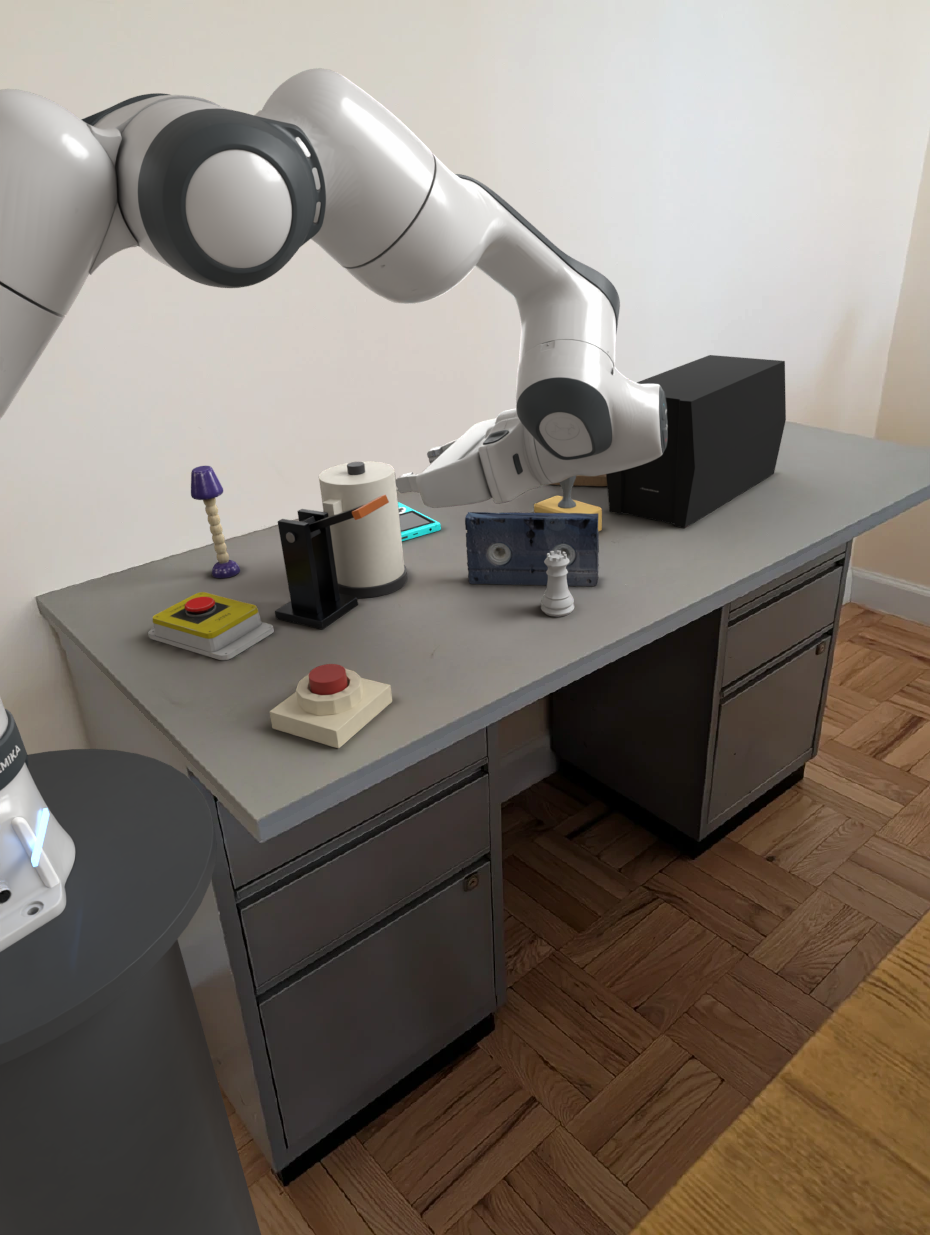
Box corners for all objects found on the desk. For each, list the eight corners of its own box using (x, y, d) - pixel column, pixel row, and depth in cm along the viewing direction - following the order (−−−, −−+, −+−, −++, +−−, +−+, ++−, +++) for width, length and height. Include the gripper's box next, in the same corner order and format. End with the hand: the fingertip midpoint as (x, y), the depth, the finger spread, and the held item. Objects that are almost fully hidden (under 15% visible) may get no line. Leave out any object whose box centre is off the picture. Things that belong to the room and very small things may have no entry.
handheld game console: (395, 505, 159) (395, 498, 159) (443, 529, 147) (442, 521, 146) (345, 518, 154) (344, 511, 154) (390, 545, 142) (389, 537, 142)
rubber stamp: (533, 525, 146) (531, 453, 141) (557, 515, 150) (556, 445, 144) (578, 539, 139) (578, 465, 134) (603, 529, 143) (603, 456, 137)
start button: (332, 699, 94) (330, 685, 94) (303, 691, 96) (300, 677, 96) (355, 682, 97) (353, 668, 97) (325, 674, 99) (323, 660, 99)
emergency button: (192, 580, 123) (271, 600, 116) (198, 608, 125) (277, 630, 118) (138, 607, 117) (219, 630, 109) (145, 637, 119) (225, 661, 111)
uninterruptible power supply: (603, 510, 150) (604, 391, 141) (702, 458, 172) (708, 352, 163) (691, 529, 140) (698, 402, 131) (784, 472, 162) (795, 359, 153)
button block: (338, 748, 93) (333, 716, 91) (272, 728, 97) (266, 697, 95) (392, 701, 100) (389, 670, 98) (328, 684, 104) (324, 654, 103)
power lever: (391, 507, 112) (383, 489, 111) (363, 523, 107) (355, 504, 107) (315, 532, 120) (308, 516, 120) (286, 548, 116) (278, 531, 115)
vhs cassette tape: (599, 579, 126) (599, 512, 122) (597, 587, 123) (598, 520, 119) (471, 575, 130) (467, 510, 125) (467, 583, 127) (463, 518, 123)
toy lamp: (228, 581, 134) (206, 473, 126) (202, 578, 135) (179, 472, 128) (245, 568, 137) (225, 463, 130) (220, 565, 139) (199, 462, 132)
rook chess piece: (566, 620, 115) (565, 563, 112) (535, 614, 117) (533, 558, 114) (580, 606, 119) (579, 550, 115) (549, 600, 121) (548, 545, 117)
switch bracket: (358, 604, 123) (346, 510, 117) (322, 629, 117) (307, 531, 111) (312, 595, 127) (298, 503, 121) (275, 618, 121) (258, 523, 115)
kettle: (373, 607, 122) (358, 483, 114) (310, 594, 127) (291, 475, 119) (428, 568, 133) (418, 452, 125) (368, 557, 138) (354, 445, 130)
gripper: (542, 394, 106) (439, 418, 112) (486, 450, 90) (369, 474, 96) (555, 445, 109) (454, 465, 115) (503, 508, 92) (388, 528, 98)
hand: (415, 470), depth 105 cm, fingers open, 8 cm apart
